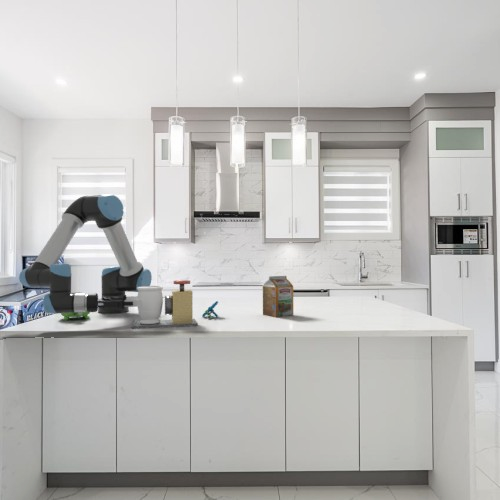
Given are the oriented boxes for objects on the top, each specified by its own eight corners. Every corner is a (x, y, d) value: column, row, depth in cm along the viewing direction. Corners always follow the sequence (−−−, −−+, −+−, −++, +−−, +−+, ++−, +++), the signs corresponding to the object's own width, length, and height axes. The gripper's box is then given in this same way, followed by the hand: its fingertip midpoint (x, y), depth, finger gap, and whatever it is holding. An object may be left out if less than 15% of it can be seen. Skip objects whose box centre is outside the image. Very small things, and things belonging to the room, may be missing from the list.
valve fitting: (133, 323, 167) (133, 280, 167) (194, 320, 173) (194, 279, 174) (131, 328, 154) (132, 282, 155) (197, 325, 161) (197, 281, 161)
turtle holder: (65, 323, 168) (65, 295, 168) (58, 317, 183) (58, 292, 183) (95, 320, 175) (95, 294, 175) (86, 315, 190) (86, 291, 190)
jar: (156, 325, 156) (155, 287, 156) (132, 324, 158) (132, 287, 159) (166, 321, 167) (166, 285, 167) (144, 320, 169) (144, 285, 169)
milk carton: (275, 317, 182) (275, 276, 183) (262, 314, 191) (262, 275, 191) (293, 315, 188) (293, 276, 188) (280, 313, 197) (279, 275, 197)
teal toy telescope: (206, 311, 191) (219, 297, 188) (214, 320, 190) (227, 306, 187) (197, 318, 180) (210, 303, 177) (205, 327, 179) (219, 313, 177)
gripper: (91, 308, 168) (142, 306, 174) (81, 316, 144) (141, 314, 150) (91, 290, 168) (142, 289, 174) (82, 296, 144) (141, 294, 150)
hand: (142, 301), depth 162 cm, fingers open, 13 cm apart
